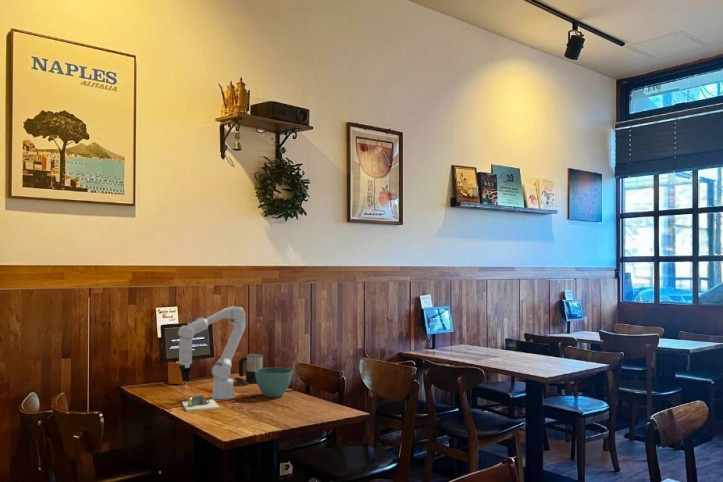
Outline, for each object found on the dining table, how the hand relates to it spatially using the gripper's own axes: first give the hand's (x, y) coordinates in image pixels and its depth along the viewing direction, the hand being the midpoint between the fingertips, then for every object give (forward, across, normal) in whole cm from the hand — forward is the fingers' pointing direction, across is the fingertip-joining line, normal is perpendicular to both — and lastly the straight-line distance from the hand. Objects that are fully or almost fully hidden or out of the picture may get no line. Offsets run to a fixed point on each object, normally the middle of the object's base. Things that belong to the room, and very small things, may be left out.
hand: (184, 381), depth 278 cm
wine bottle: (+10, -48, +2) cm, 49 cm away
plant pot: (+10, +1, +42) cm, 43 cm away
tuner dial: (+8, +12, +4) cm, 16 cm away
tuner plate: (+9, +12, +6) cm, 16 cm away
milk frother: (+10, -36, +38) cm, 53 cm away
